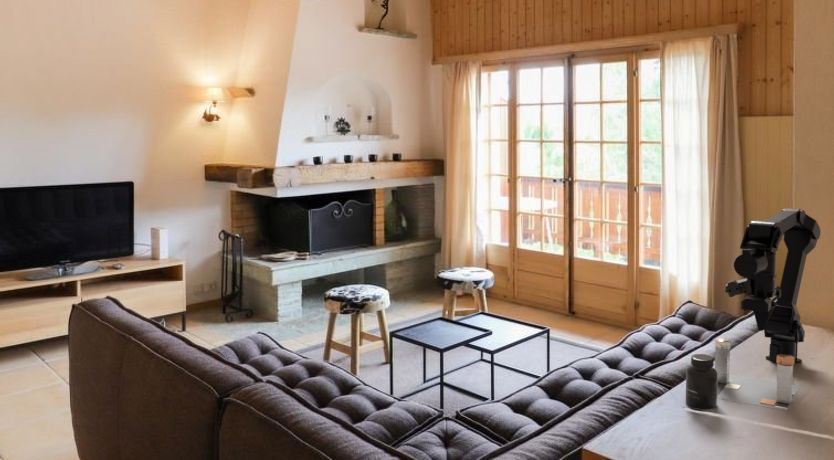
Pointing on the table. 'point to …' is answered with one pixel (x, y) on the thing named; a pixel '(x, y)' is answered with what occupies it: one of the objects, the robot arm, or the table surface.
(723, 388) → the switch board
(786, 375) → the lever
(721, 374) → the lever
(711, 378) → the supplement bottle
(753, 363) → the table surface
